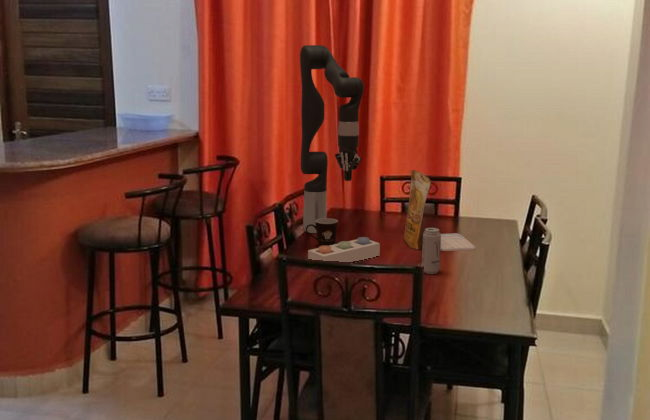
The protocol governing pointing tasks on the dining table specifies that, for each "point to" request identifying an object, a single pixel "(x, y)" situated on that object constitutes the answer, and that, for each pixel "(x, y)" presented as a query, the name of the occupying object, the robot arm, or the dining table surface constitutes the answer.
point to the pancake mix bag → (416, 209)
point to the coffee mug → (325, 231)
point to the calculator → (455, 243)
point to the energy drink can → (431, 250)
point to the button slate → (363, 240)
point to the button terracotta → (324, 249)
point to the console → (347, 252)
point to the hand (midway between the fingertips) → (347, 180)
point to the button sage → (344, 245)
